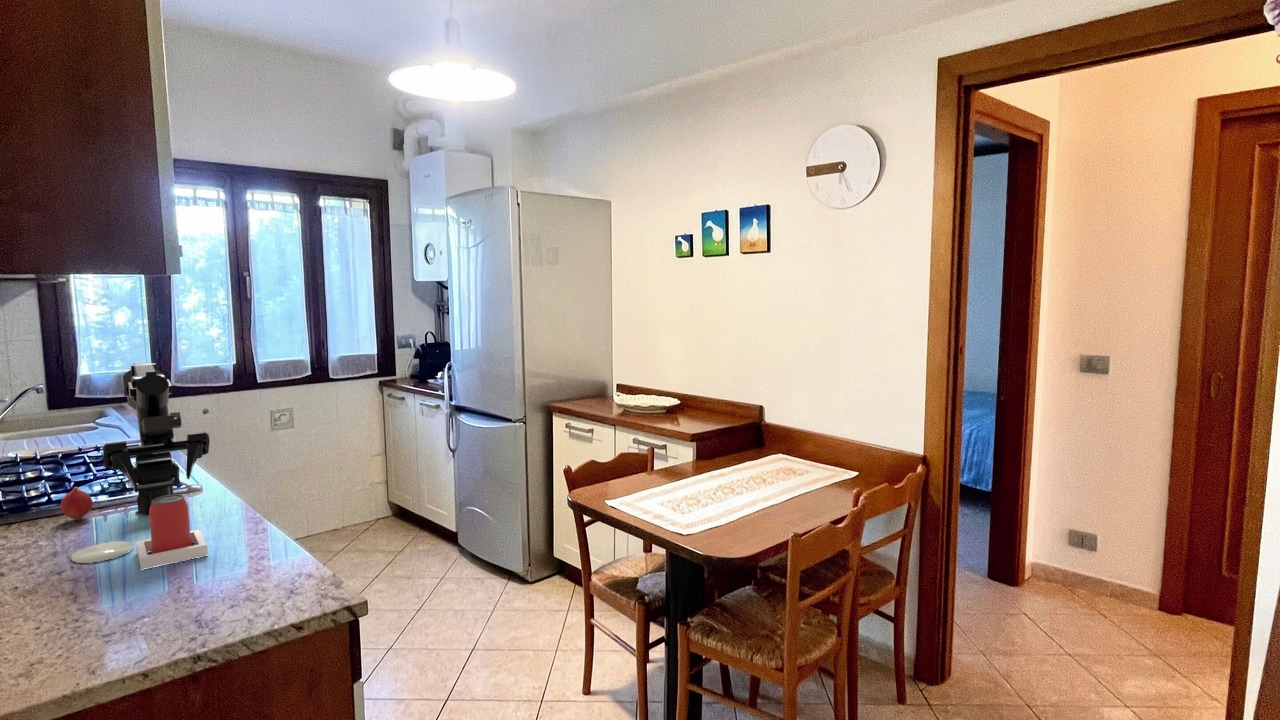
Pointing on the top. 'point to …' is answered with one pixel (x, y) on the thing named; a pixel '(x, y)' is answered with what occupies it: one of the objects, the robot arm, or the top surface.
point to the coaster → (101, 552)
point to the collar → (171, 551)
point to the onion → (76, 504)
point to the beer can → (169, 523)
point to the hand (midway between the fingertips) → (162, 482)
